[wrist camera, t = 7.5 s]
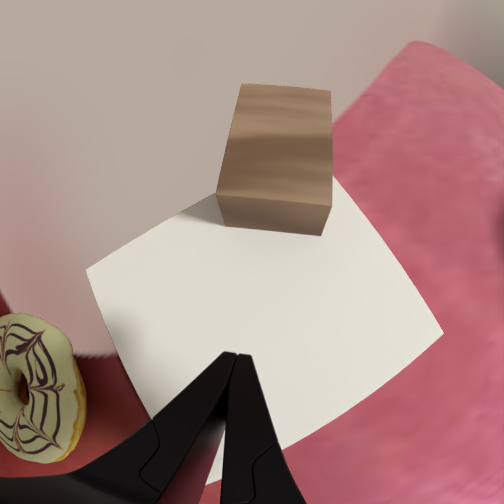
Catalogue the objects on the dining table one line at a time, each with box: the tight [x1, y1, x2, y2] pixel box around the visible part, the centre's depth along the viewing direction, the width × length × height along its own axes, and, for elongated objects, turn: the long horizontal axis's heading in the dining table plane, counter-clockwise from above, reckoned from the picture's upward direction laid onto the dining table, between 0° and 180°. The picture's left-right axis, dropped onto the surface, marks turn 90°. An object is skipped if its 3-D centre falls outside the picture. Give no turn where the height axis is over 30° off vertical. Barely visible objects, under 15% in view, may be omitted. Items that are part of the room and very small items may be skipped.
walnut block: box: [216, 84, 333, 236], centre depth 19 cm, size 4×6×9 cm
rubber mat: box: [86, 177, 443, 485], centre depth 18 cm, size 16×18×1 cm
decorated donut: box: [0, 313, 87, 464], centre depth 15 cm, size 10×11×4 cm
